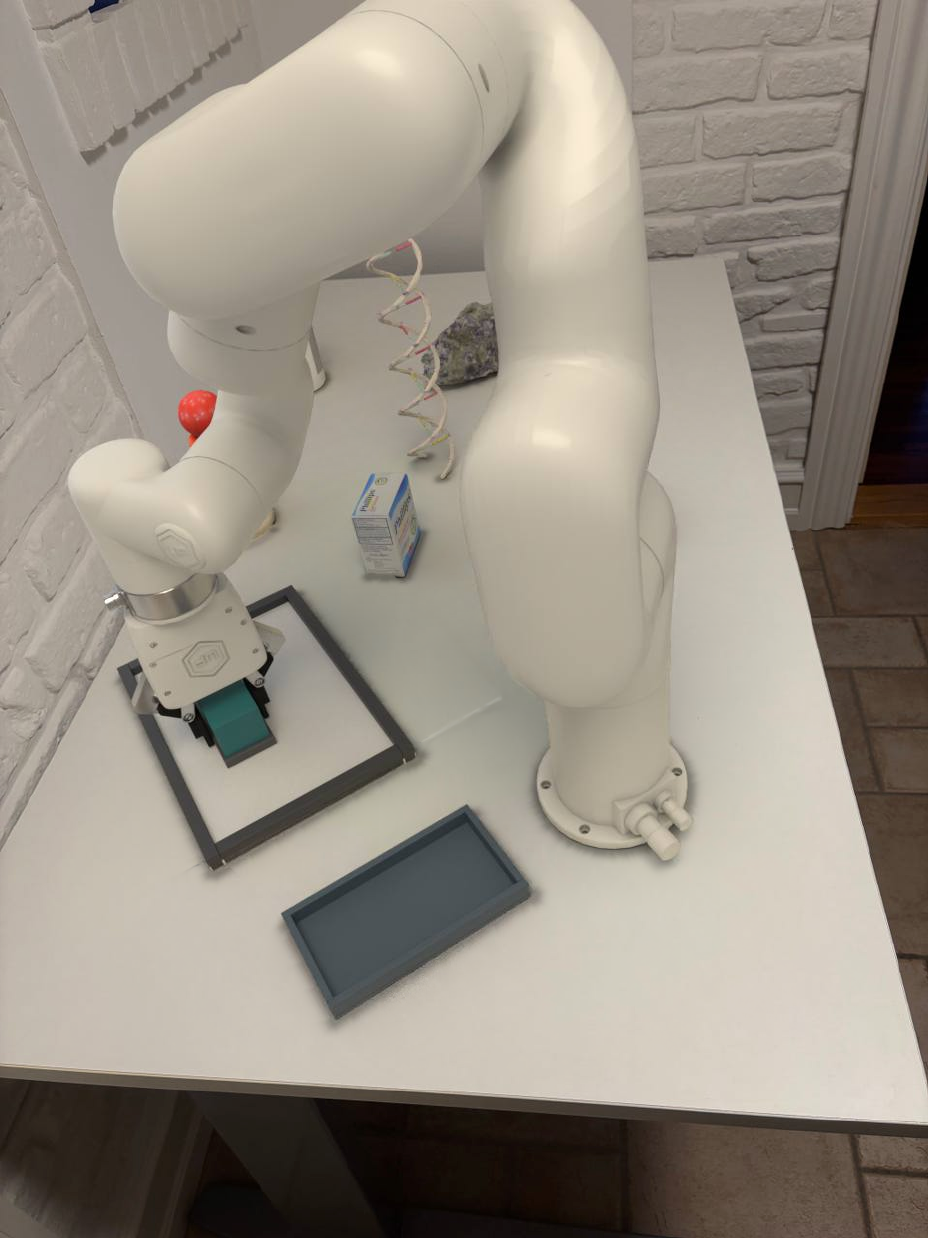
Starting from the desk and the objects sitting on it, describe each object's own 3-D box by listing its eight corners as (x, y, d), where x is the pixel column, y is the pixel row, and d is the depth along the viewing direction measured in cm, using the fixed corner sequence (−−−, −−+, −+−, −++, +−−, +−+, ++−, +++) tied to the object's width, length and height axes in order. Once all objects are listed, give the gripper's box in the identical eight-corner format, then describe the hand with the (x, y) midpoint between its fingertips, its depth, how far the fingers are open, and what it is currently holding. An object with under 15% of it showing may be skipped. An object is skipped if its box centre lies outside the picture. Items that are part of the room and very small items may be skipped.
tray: (530, 897, 75) (528, 883, 73) (335, 1020, 70) (329, 1008, 68) (470, 817, 81) (467, 803, 80) (287, 925, 76) (280, 913, 75)
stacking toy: (198, 541, 115) (141, 406, 102) (238, 502, 120) (188, 368, 107) (250, 554, 112) (197, 416, 99) (288, 514, 117) (243, 377, 104)
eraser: (277, 743, 89) (262, 708, 86) (228, 769, 88) (210, 734, 84) (240, 680, 96) (225, 645, 92) (193, 703, 94) (176, 668, 91)
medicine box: (405, 578, 105) (389, 516, 99) (366, 577, 106) (349, 515, 100) (421, 533, 110) (408, 471, 104) (384, 532, 111) (369, 471, 105)
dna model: (466, 473, 118) (426, 230, 97) (417, 489, 117) (367, 247, 96) (448, 446, 123) (407, 210, 102) (401, 462, 122) (350, 226, 101)
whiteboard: (416, 757, 86) (413, 745, 85) (212, 872, 81) (205, 860, 79) (295, 596, 105) (291, 584, 104) (122, 679, 99) (116, 668, 98)
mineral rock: (425, 396, 133) (412, 329, 126) (429, 358, 140) (417, 293, 133) (517, 385, 131) (510, 317, 124) (516, 347, 139) (509, 281, 132)
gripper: (79, 652, 74) (162, 792, 87) (278, 561, 79) (329, 705, 92) (58, 601, 79) (139, 740, 92) (246, 518, 84) (299, 660, 97)
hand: (233, 721), depth 91 cm, fingers closed on eraser, 4 cm apart
